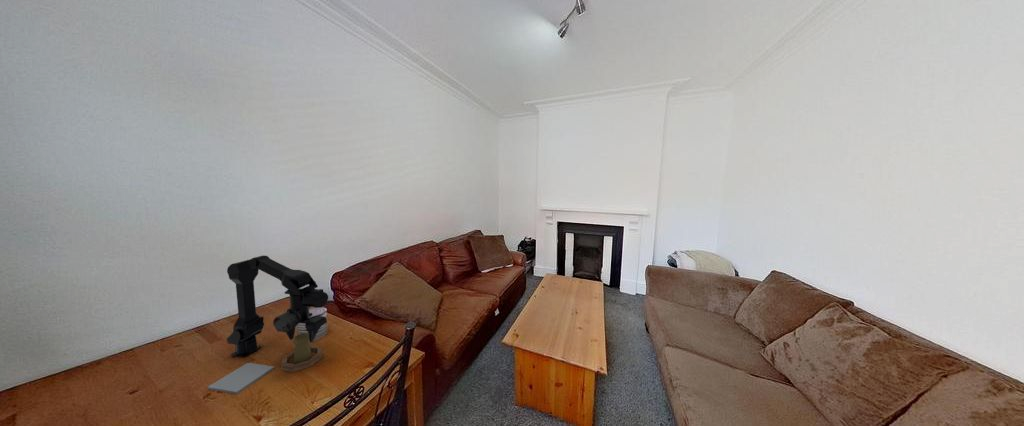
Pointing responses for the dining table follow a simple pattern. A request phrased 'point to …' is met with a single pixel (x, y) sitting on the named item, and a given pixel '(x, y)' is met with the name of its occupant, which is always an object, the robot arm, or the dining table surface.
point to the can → (315, 312)
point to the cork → (302, 348)
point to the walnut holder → (302, 365)
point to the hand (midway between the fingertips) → (301, 340)
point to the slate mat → (241, 378)
